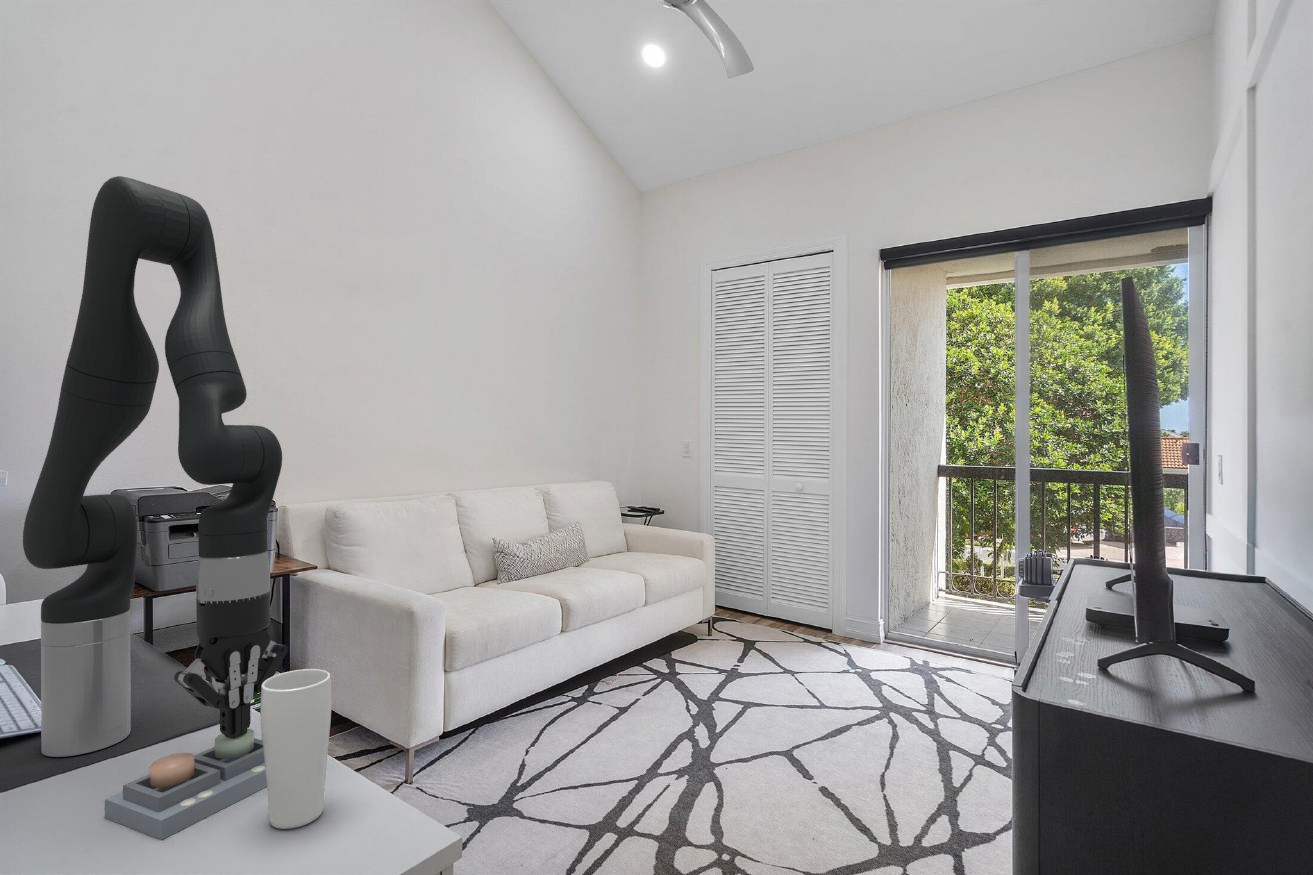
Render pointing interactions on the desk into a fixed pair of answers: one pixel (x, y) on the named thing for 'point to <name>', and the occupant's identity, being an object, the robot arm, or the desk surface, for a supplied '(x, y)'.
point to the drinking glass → (296, 744)
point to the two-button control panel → (188, 793)
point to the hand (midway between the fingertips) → (235, 735)
